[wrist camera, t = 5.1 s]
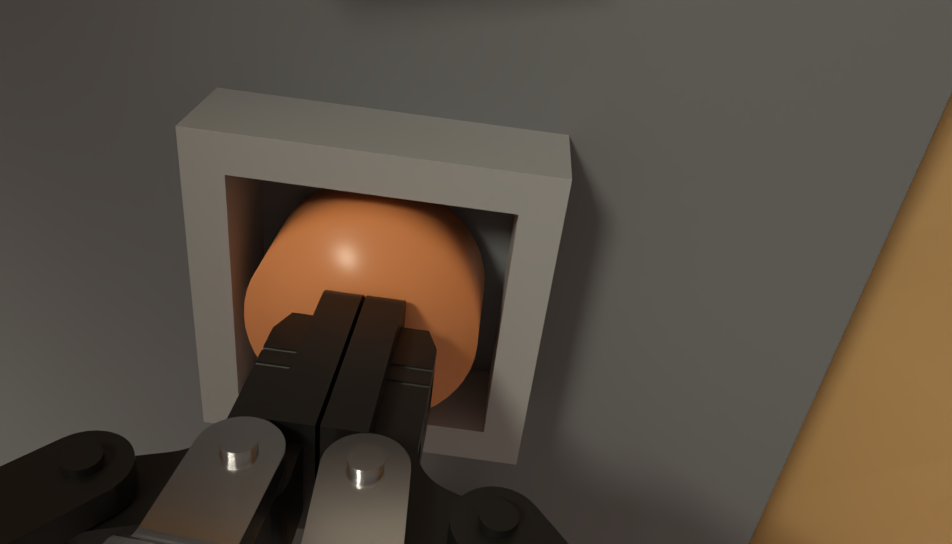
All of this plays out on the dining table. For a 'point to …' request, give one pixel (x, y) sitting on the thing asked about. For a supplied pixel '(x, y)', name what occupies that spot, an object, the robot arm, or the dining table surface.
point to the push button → (376, 271)
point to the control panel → (472, 219)
